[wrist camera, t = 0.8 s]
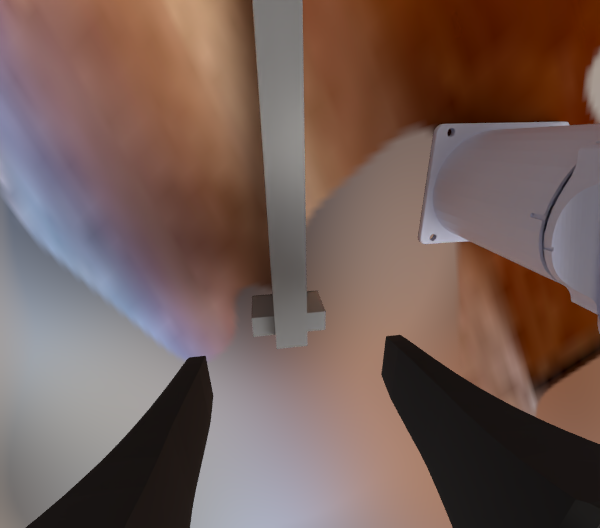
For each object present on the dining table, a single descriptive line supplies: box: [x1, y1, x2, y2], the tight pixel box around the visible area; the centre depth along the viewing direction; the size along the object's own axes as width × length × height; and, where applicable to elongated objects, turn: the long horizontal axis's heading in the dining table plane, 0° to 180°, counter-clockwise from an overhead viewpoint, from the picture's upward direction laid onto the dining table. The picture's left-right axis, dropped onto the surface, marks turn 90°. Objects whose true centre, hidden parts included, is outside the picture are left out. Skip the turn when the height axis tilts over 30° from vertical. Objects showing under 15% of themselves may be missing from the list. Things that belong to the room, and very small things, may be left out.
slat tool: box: [252, 0, 326, 349], centre depth 16 cm, size 5×20×4 cm, turn 1°
